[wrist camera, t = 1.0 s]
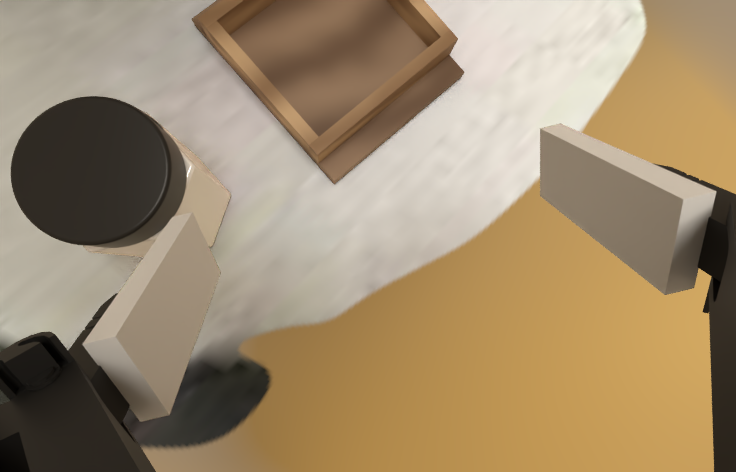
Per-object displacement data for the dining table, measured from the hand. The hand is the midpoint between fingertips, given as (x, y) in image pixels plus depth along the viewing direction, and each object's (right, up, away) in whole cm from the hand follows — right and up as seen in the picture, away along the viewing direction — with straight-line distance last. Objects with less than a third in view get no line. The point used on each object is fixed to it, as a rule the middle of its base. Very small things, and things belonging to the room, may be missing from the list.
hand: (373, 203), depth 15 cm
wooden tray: (-3, +15, +20) cm, 25 cm away
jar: (-16, +1, +18) cm, 24 cm away
